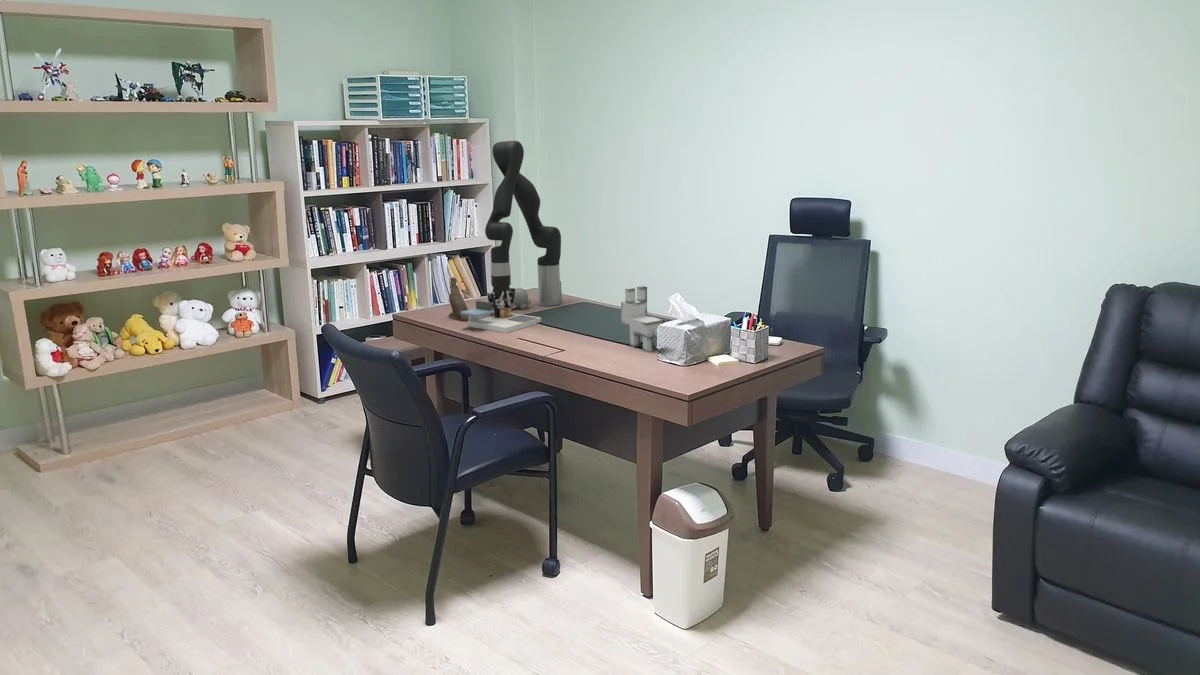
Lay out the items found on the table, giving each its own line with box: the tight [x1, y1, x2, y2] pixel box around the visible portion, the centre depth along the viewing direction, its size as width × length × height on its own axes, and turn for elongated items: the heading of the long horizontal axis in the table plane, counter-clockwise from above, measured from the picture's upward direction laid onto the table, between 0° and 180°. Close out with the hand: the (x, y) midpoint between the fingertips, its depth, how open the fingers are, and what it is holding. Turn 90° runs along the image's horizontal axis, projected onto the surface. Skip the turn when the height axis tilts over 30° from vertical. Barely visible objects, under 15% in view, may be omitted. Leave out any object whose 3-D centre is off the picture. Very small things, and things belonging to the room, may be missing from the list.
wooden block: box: [493, 307, 512, 319], centre depth 345 cm, size 5×5×5 cm
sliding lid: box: [461, 300, 494, 317], centre depth 333 cm, size 9×9×4 cm
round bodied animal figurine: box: [510, 287, 532, 310], centre depth 366 cm, size 7×12×8 cm, turn 127°
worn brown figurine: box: [448, 276, 469, 322], centre depth 350 cm, size 12×6×18 cm, turn 38°
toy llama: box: [620, 285, 666, 353], centre depth 302 cm, size 8×18×20 cm, turn 34°
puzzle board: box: [467, 302, 542, 334], centre depth 339 cm, size 20×20×6 cm
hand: (502, 316), depth 345 cm, fingers closed on wooden block, 5 cm apart
